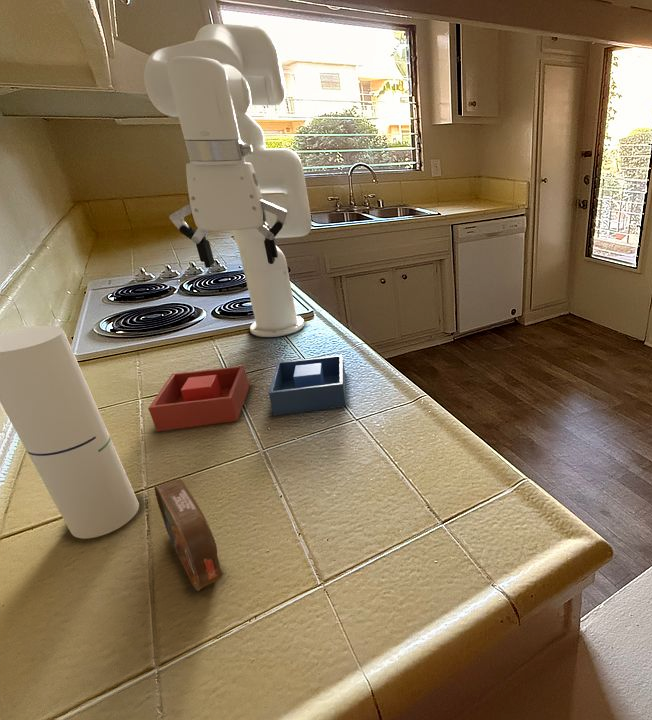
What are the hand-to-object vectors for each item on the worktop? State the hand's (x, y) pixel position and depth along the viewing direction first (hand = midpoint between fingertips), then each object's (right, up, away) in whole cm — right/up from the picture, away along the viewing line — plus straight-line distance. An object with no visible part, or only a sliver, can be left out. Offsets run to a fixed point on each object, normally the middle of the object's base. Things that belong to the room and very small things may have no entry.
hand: (241, 263), depth 78 cm
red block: (-8, -24, +4) cm, 26 cm away
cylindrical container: (-8, -37, -19) cm, 42 cm away
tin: (+8, -39, -24) cm, 47 cm away
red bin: (-8, -25, +5) cm, 27 cm away
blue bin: (+9, -23, +9) cm, 26 cm away
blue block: (+9, -22, +8) cm, 25 cm away
